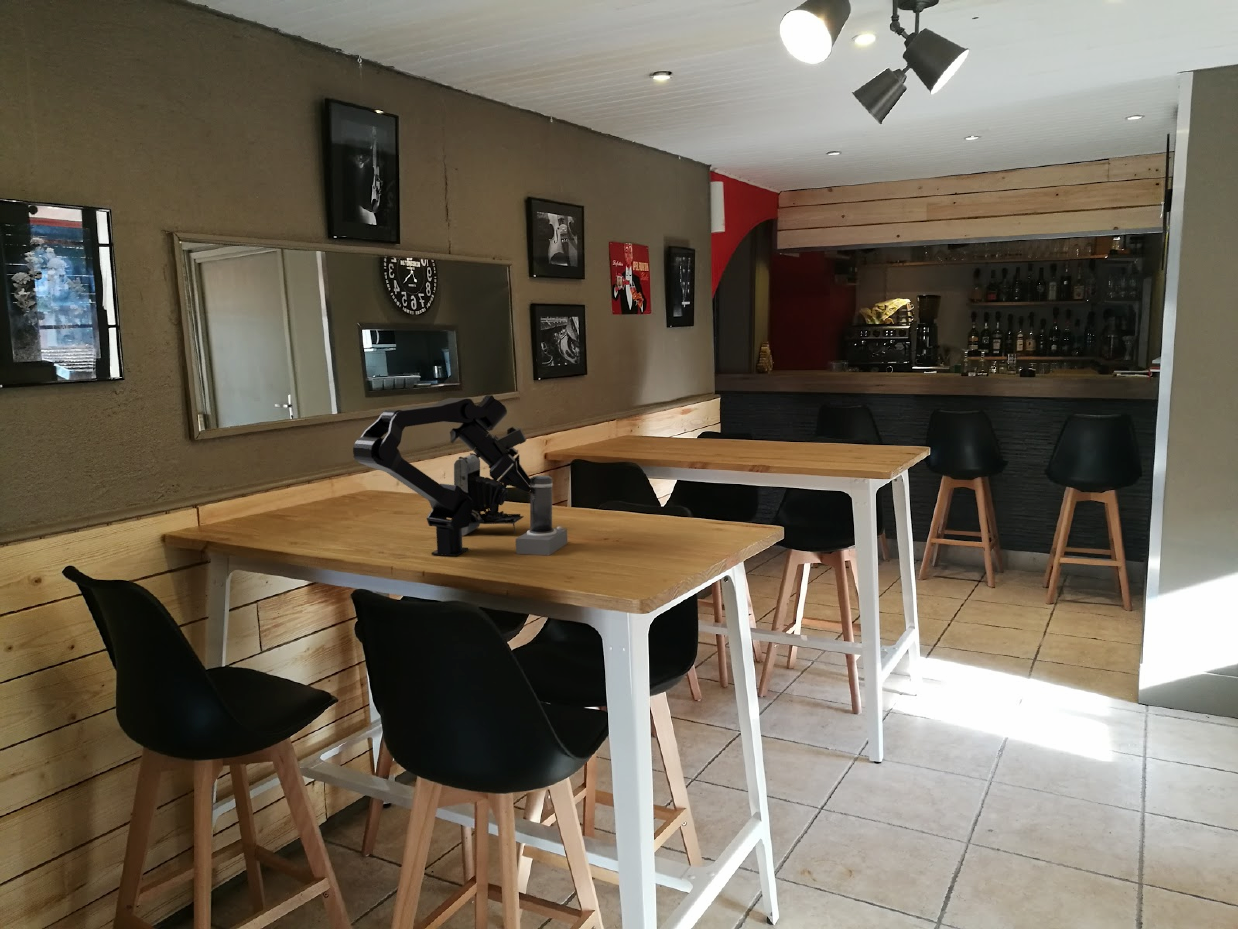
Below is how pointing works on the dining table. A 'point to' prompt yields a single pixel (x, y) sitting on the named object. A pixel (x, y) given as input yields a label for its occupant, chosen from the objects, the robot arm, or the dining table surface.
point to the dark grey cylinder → (541, 503)
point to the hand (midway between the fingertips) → (530, 487)
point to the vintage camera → (482, 494)
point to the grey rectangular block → (541, 542)
